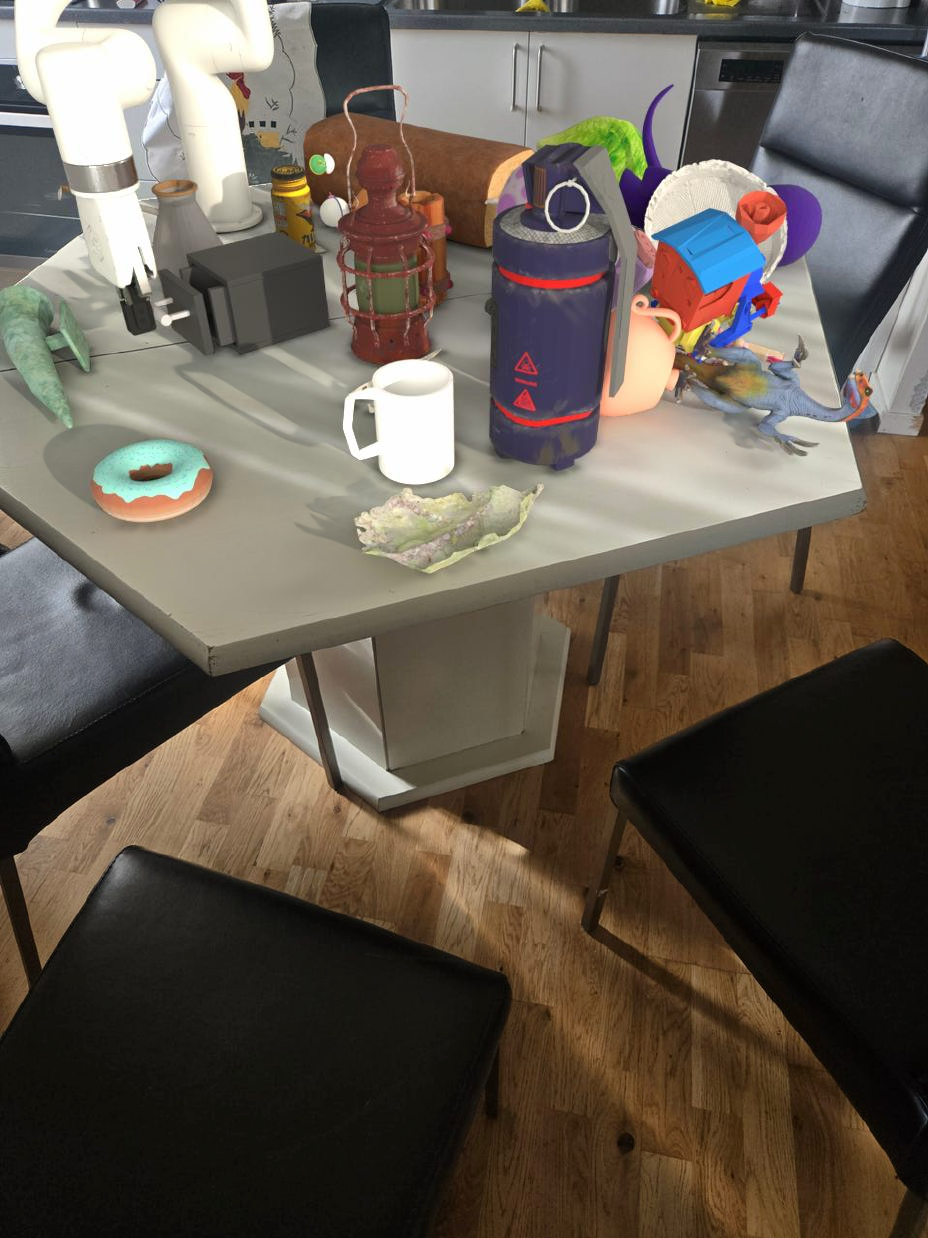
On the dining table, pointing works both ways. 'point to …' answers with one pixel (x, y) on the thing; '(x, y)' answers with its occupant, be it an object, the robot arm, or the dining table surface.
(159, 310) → the drawer
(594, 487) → the dining table surface
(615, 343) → the canister
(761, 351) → the toy
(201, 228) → the coffee pot
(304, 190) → the condiment
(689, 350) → the toy train
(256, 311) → the cabinet
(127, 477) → the donut
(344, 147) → the bread
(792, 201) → the toy
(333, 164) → the toy
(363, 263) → the lantern
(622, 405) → the sugar bowl
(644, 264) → the toy
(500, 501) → the cabbage leaf
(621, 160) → the lettuce
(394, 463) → the cup
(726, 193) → the food container
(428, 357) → the jawbone
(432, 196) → the mug
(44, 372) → the decorative horn
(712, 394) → the toy dinosaur
